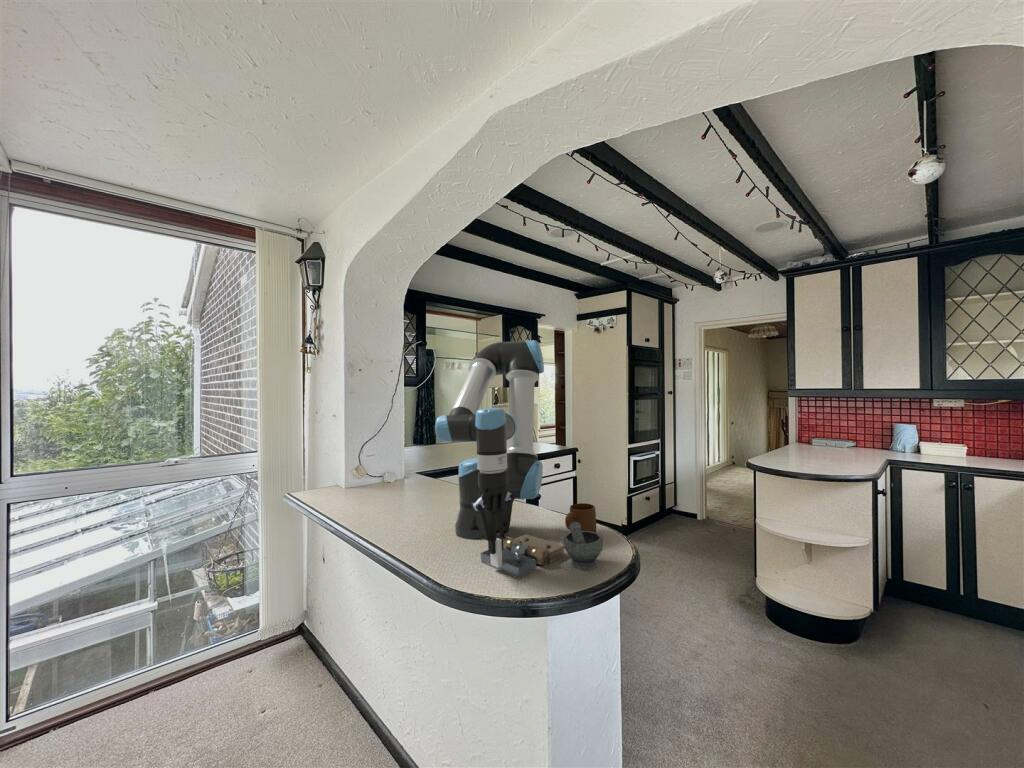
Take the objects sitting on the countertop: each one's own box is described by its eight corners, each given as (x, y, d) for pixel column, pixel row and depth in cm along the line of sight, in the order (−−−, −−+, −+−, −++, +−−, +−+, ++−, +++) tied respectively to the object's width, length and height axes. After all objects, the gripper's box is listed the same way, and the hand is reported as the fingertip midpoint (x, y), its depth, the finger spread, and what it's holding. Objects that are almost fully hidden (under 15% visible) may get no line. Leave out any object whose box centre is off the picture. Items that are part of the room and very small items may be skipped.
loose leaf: (481, 562, 107) (480, 547, 107) (508, 550, 114) (508, 536, 114) (519, 578, 97) (518, 561, 97) (546, 564, 104) (545, 548, 104)
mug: (578, 550, 112) (577, 516, 112) (556, 544, 117) (555, 511, 117) (601, 537, 121) (600, 505, 121) (580, 532, 126) (578, 501, 126)
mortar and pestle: (573, 554, 110) (571, 509, 110) (607, 560, 105) (605, 513, 105) (556, 571, 100) (554, 522, 100) (594, 578, 95) (591, 527, 95)
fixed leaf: (501, 553, 112) (500, 538, 112) (526, 542, 119) (525, 529, 119) (539, 567, 102) (538, 551, 102) (564, 555, 109) (563, 540, 109)
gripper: (482, 476, 95) (486, 579, 94) (521, 467, 104) (525, 560, 103) (462, 473, 100) (466, 569, 100) (501, 464, 109) (505, 553, 109)
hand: (496, 565), depth 102 cm, fingers closed
